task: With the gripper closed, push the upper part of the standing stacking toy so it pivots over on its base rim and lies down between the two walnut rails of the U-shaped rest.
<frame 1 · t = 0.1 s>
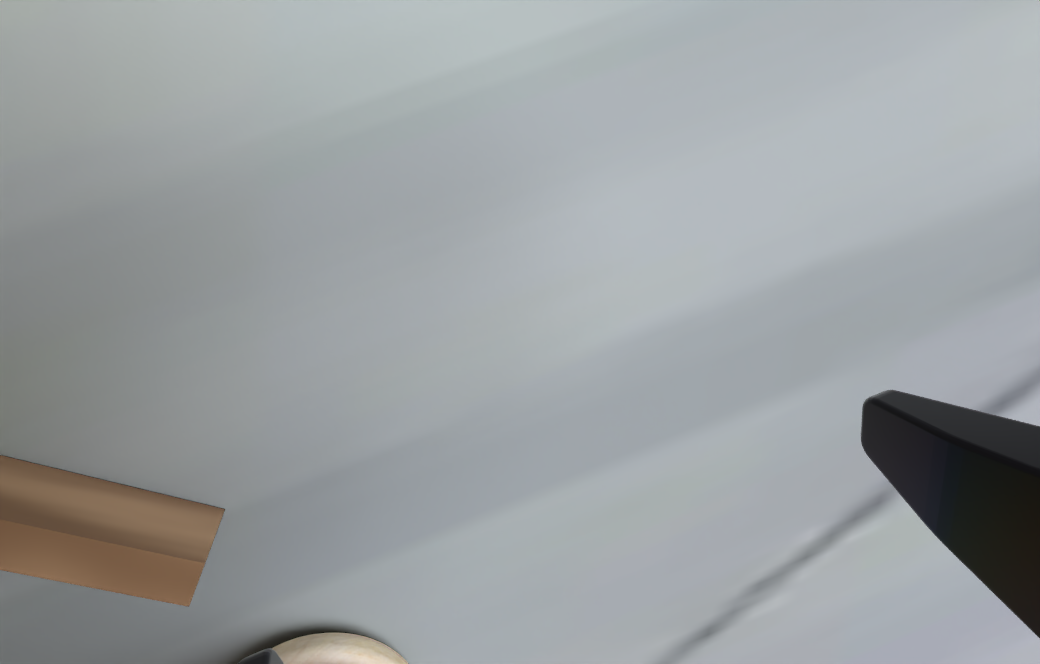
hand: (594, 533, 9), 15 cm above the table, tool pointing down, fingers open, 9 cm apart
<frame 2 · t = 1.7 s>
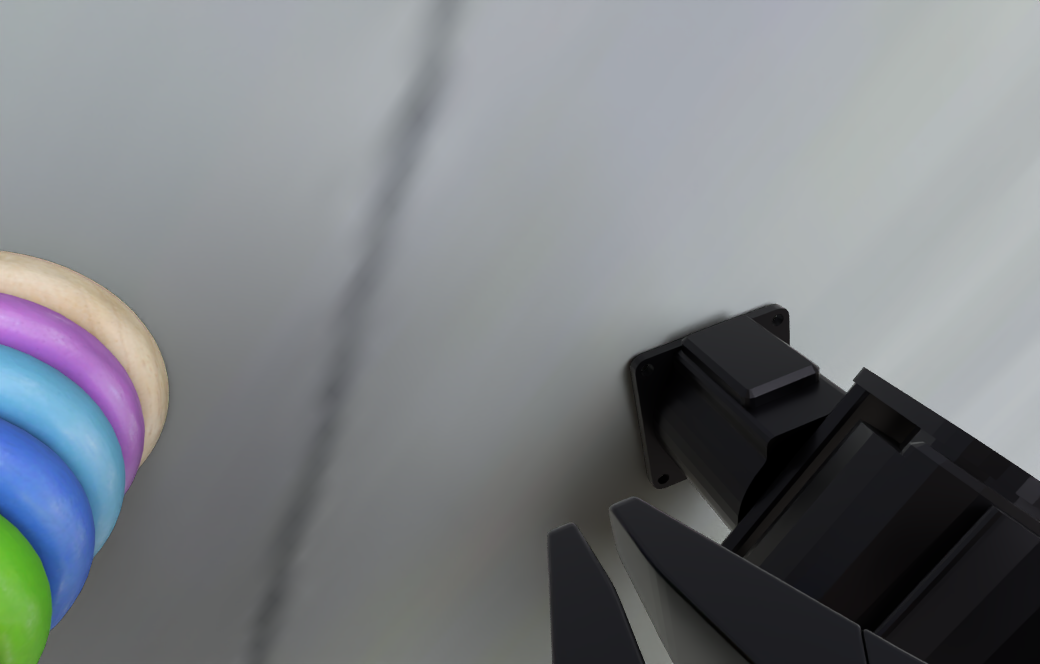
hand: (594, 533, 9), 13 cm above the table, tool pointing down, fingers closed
stacking toy: (14, 372, 19), on the table
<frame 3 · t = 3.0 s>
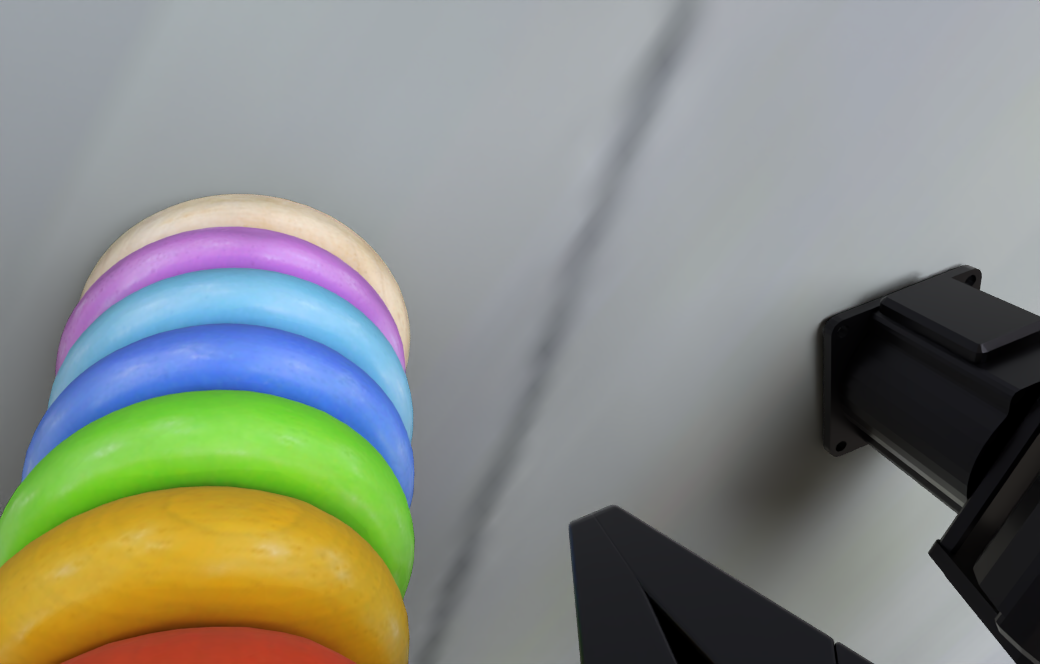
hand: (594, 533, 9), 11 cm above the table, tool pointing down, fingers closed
stacking toy: (258, 325, 18), on the table, touching gripper
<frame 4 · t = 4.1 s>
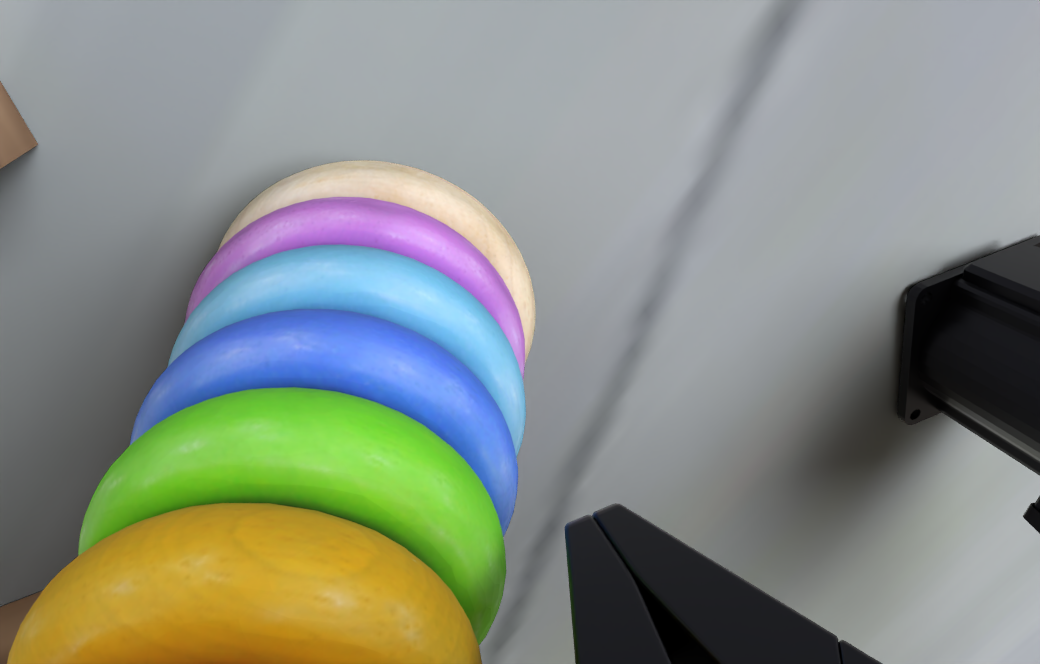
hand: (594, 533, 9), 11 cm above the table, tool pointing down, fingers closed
stacking toy: (383, 295, 18), point 1 cm above the table, touching gripper
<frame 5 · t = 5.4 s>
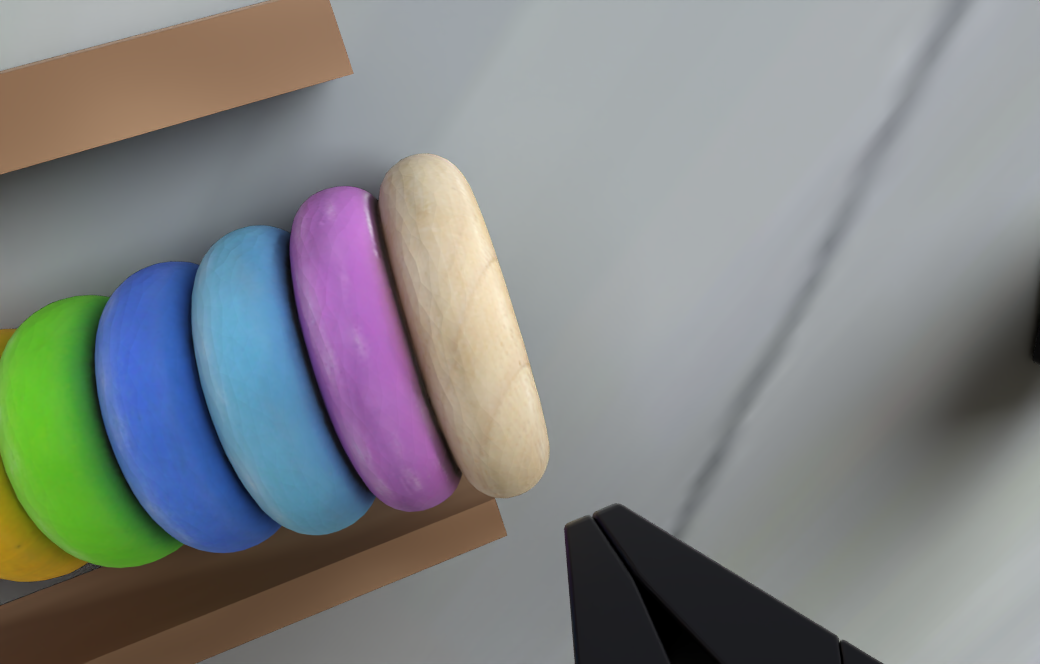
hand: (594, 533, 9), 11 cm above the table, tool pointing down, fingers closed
stacking toy: (516, 311, 16), point 4 cm above the table
u rest: (81, 383, 17), on the table
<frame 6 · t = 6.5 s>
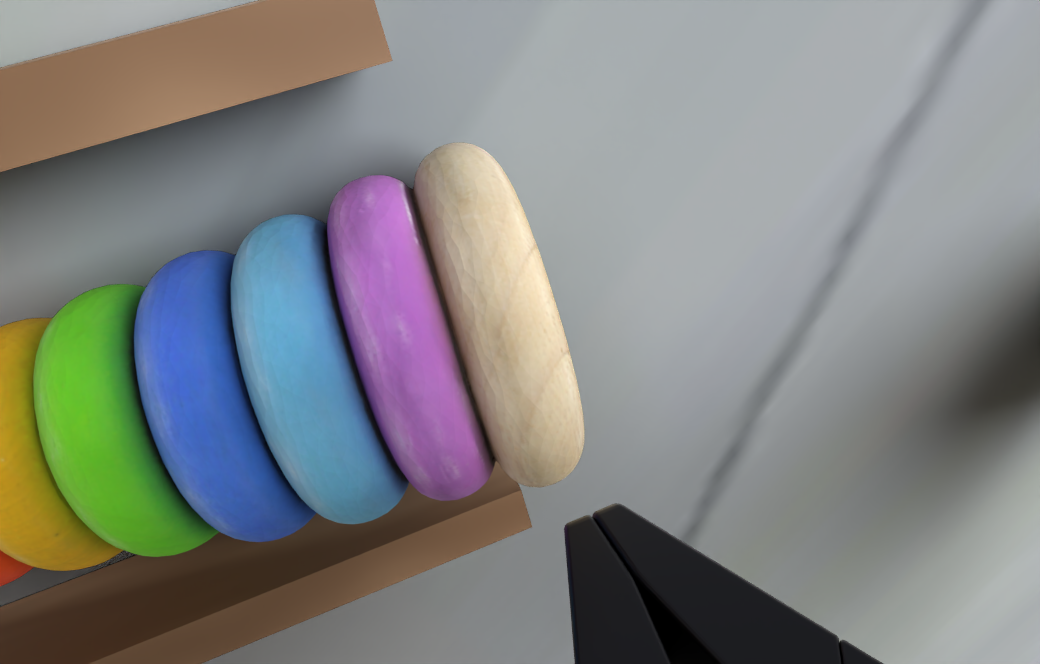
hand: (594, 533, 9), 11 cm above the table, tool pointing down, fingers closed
stacking toy: (548, 300, 16), point 4 cm above the table
u rest: (108, 374, 17), on the table
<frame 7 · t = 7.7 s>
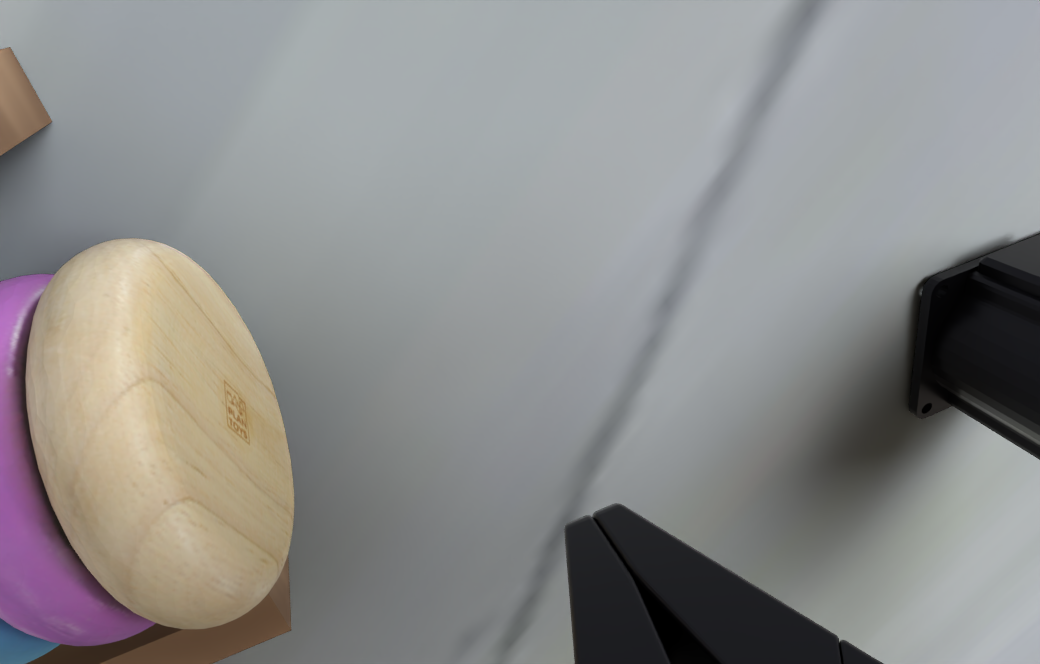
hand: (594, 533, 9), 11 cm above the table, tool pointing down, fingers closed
stacking toy: (245, 408, 14), point 4 cm above the table
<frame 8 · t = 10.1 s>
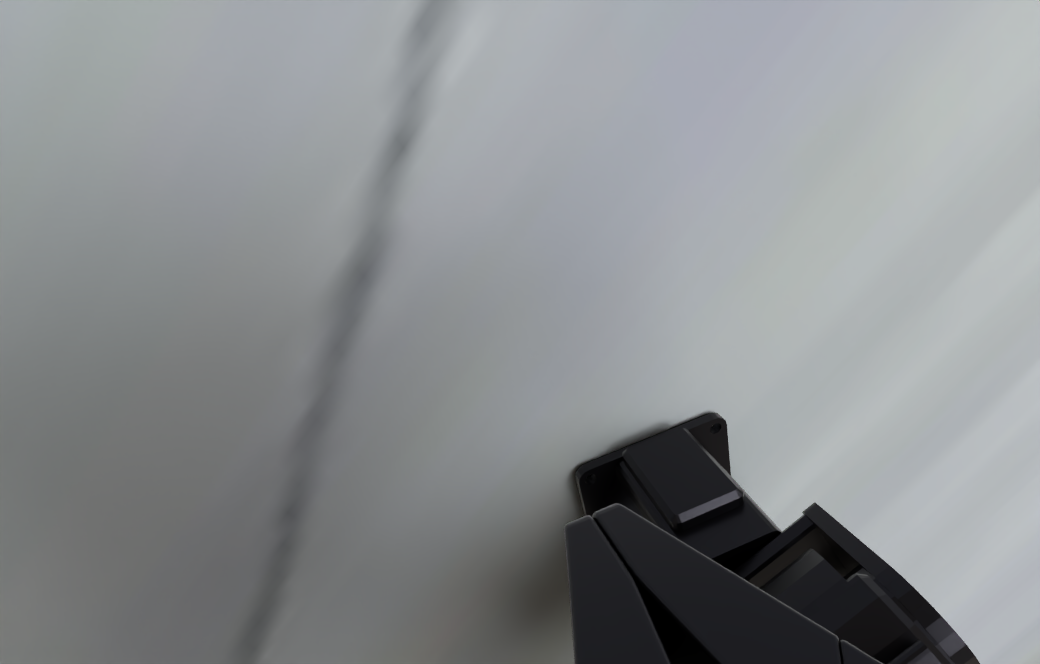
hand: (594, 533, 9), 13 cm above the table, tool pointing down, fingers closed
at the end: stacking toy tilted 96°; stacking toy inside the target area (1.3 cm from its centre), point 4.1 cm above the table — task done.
